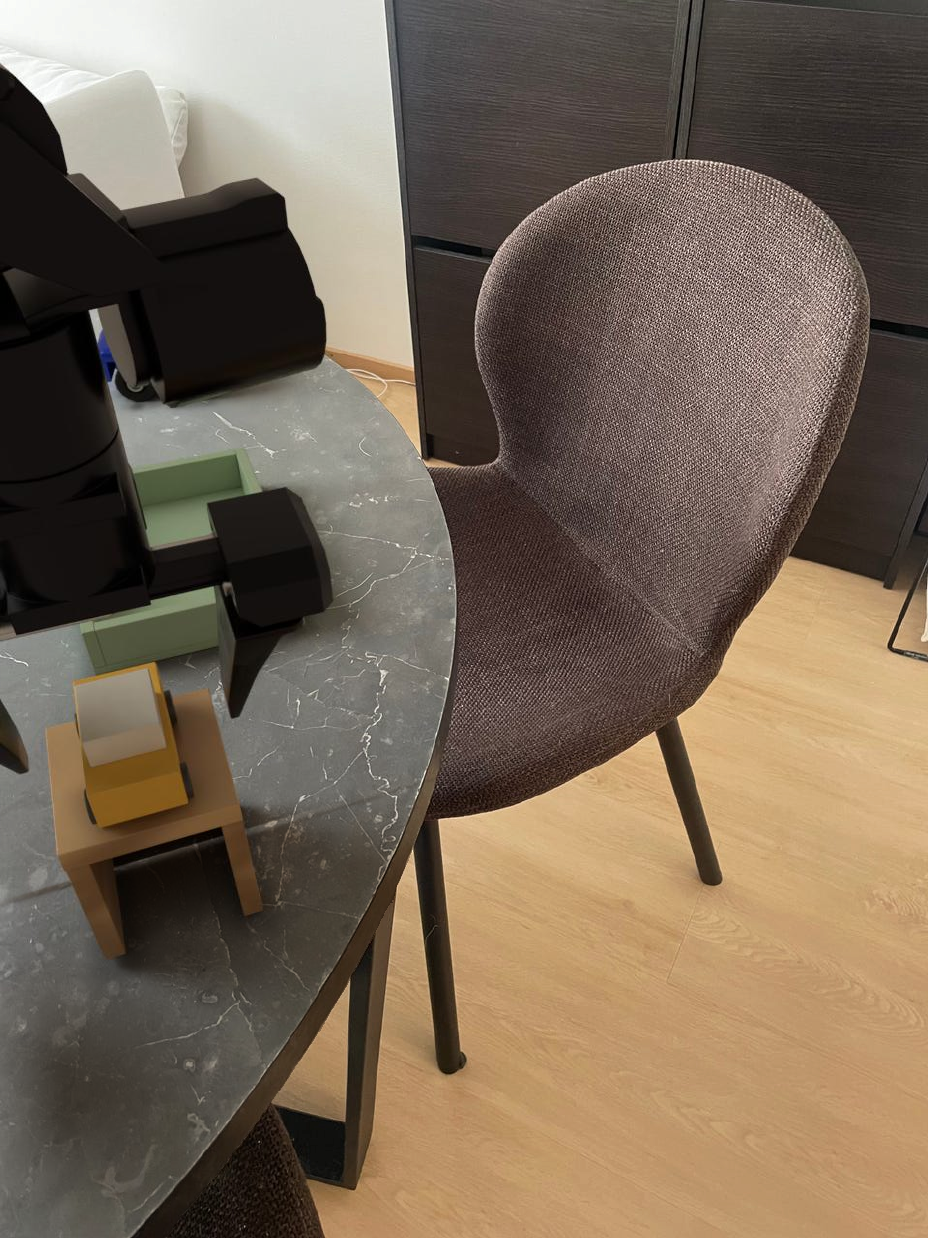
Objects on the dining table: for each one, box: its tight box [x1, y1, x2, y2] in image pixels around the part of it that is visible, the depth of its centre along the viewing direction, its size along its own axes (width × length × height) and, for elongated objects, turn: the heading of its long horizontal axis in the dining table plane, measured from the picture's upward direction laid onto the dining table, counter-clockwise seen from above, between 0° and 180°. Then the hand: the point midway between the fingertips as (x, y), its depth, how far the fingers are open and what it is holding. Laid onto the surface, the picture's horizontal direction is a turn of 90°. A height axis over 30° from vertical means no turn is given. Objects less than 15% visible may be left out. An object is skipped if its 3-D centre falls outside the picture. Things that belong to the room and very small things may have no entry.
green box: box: [79, 446, 306, 676], centre depth 70 cm, size 14×18×4 cm
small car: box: [72, 661, 194, 828], centre depth 45 cm, size 7×4×4 cm, turn 21°
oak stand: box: [44, 687, 264, 960], centre depth 49 cm, size 8×8×9 cm
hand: (131, 737), depth 45 cm, fingers open, 9 cm apart
